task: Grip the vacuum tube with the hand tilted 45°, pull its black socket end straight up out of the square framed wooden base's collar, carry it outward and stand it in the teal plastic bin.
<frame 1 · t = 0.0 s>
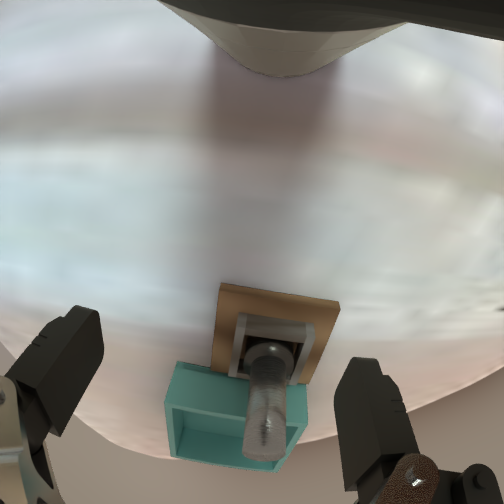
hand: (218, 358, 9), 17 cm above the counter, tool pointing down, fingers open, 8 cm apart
vacuum tube: (269, 344, 30), point 1 cm above the counter, touching square framed wooden base
bin: (234, 407, 38), on the counter
square framed wooden base: (269, 336, 31), on the counter
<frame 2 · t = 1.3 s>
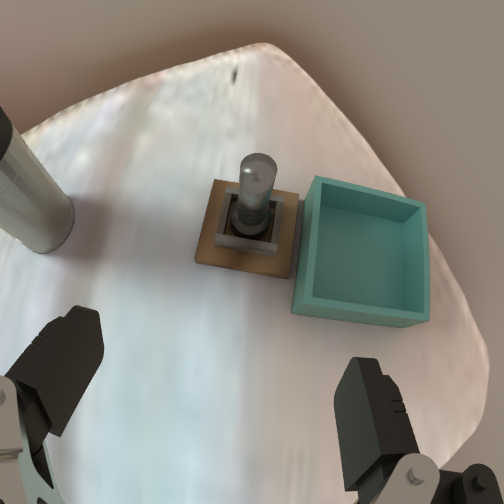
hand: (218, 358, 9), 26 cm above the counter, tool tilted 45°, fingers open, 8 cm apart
vacuum tube: (249, 224, 38), point 1 cm above the counter, touching square framed wooden base
bin: (355, 263, 39), on the counter
square framed wooden base: (248, 228, 40), on the counter
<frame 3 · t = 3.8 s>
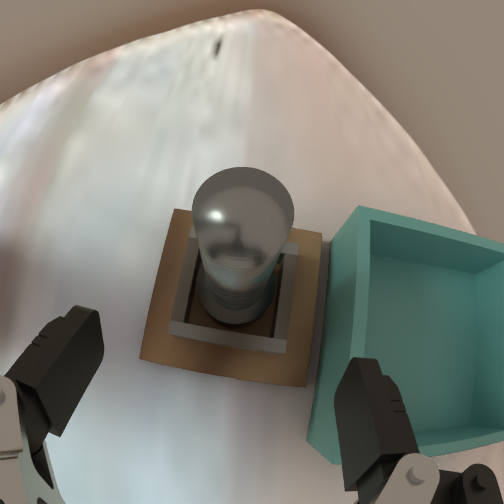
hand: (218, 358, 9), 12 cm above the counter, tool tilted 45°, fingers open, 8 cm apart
vacuum tube: (235, 294, 21), point 1 cm above the counter, touching square framed wooden base
bin: (410, 347, 22), on the counter
square framed wooden base: (234, 298, 22), on the counter
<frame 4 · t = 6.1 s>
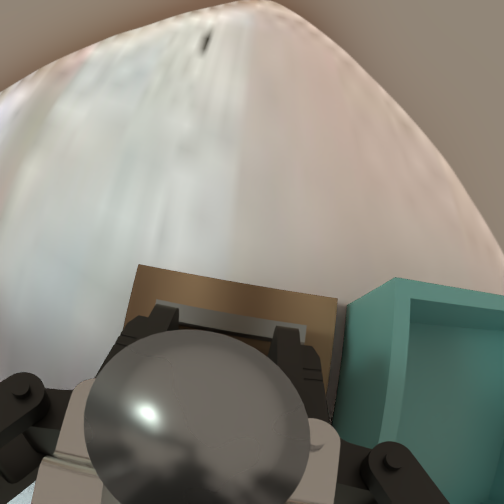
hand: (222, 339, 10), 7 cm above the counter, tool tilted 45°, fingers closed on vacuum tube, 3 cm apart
vacuum tube: (219, 386, 15), point 1 cm above the counter, touching gripper, square framed wooden base
bin: (435, 428, 15), on the counter
square framed wooden base: (220, 384, 16), on the counter
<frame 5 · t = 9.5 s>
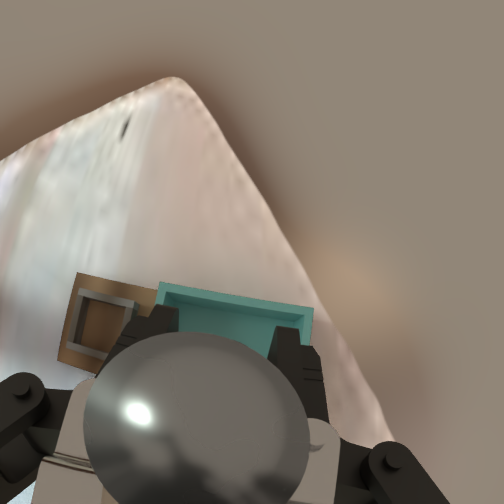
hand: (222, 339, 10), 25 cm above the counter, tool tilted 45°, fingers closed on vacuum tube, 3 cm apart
vacuum tube: (219, 386, 15), point 19 cm above the counter, touching gripper
bin: (224, 372, 33), on the counter
square framed wooden base: (108, 328, 33), on the counter
when the fingers open (9 cm above the counter, at t = 12.8 s): vacuum tube drops 2 cm, resting on bin.
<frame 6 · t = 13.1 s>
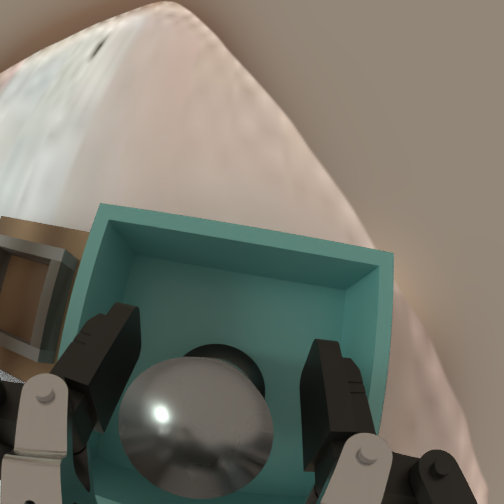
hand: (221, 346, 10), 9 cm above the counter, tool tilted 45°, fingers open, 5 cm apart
vacuum tube: (219, 385, 17), point 1 cm above the counter, touching bin
bin: (220, 382, 18), on the counter
square framed wooden base: (34, 302, 18), on the counter
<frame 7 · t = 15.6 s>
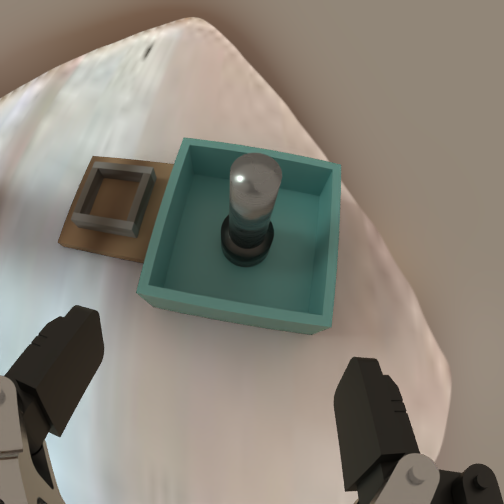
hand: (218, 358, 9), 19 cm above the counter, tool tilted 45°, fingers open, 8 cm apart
vacuum tube: (245, 244, 30), point 1 cm above the counter, touching bin
bin: (245, 246, 31), on the counter
square framed wooden base: (120, 207, 32), on the counter
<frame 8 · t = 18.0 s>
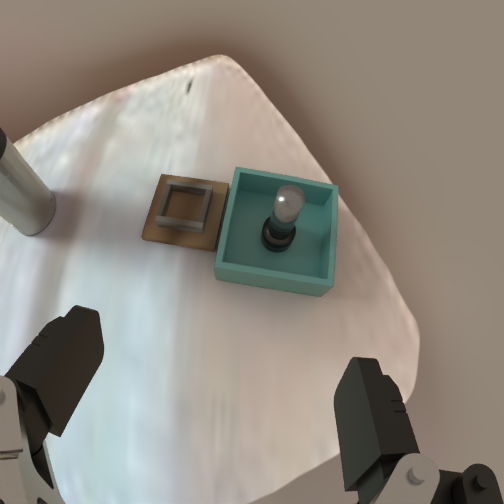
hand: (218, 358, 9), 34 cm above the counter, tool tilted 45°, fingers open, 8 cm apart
vacuum tube: (276, 237, 46), point 1 cm above the counter, touching bin
bin: (275, 239, 47), on the counter
square framed wooden base: (186, 212, 48), on the counter
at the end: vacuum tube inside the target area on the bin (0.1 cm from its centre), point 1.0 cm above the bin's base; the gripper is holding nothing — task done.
